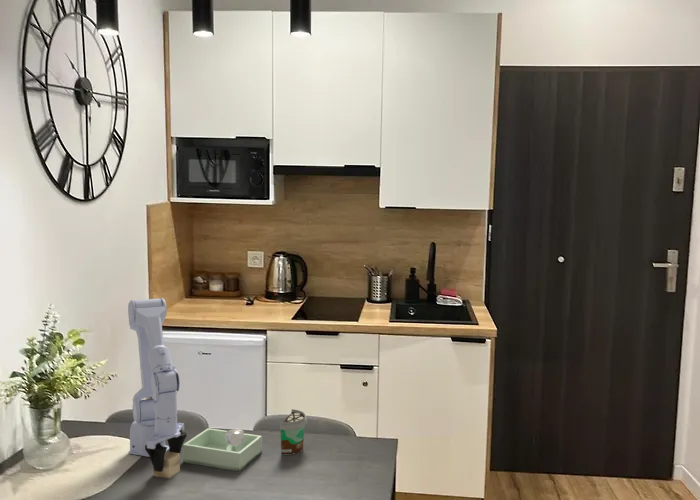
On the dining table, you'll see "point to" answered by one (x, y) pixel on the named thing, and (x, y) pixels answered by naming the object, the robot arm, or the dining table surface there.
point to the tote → (220, 450)
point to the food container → (293, 432)
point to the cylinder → (235, 440)
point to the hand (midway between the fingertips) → (166, 465)
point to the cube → (169, 465)
